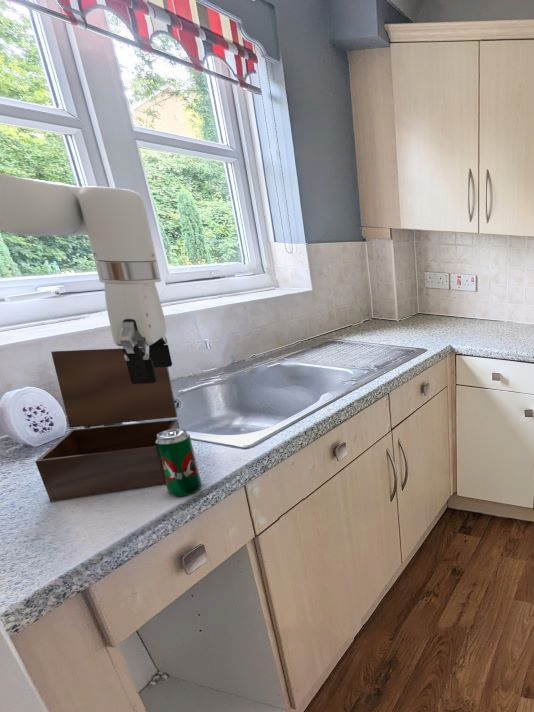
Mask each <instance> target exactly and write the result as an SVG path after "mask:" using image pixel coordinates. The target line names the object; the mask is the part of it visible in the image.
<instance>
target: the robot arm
mask: <svg viewBox="0 0 534 712" xmlns="http://www.w3.org/2000/svg"><path fill="white" fill-rule="evenodd" d="M0 231H1V232H5V233H9V234H12V235H13V234H14V235H18V236H25V237H50V236H51V237H52V236H53V237H54V236H55V237H73V236H87V238H88V242H89V246H90V249H91V253H92V258H93V260H94V261H93V262H94V265H95V269H96V272H97V276H98V280H99V283H101V284H103V285H104V299H105V304H106V305H105V306H106V310H107V316H108V317H107V318H108V322H109V326H110V331H111V337H112V340H113V343H114V345H116V346H117V347H121V348H122V349H123V350H122V351H123V352H124V357H125V360H126V363H127V367H128V371H129V375H130V379H131V382H132V384H147V383H155V382H156V381H157V378H156V374H155V369H154V368H157V367H168V368H171V367H172V366H173V362H172V361H173V360H172V356H171V352H170V348H169V344H168V339H167V337H166V334H167V325H166V319H165V315H164V312H163V311H164V310H163V306H162V302H161V299H160V296H159V295H160V294H159V292H158V288H157V285H156V283H160V282H162V279H161V274H160V269H159V265H158V261H157V255H156V250H155V246H154V240H153V237H152V231H151V227H150V223H149V218H148V214H147V208H146V205H145V201H144V199H143V197H142V195H141V194H140V193H138V192H137V191H135V190H132V189H127V188H122V187H121V188H119V187H112V186H111V187H110V186H97V185H95V186H94V185H87V186H77V185H72V184H68V183H62V182H54V181H48V180H43V179H42V180H41V179H34V178H25V177H19V176H18V177H17V176H14V175H9V174H6V173H2V172H0ZM139 347H142V351H141V350H140V348H139Z"/></svg>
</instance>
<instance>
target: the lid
mask: <svg viewBox="0 0 534 712" xmlns="http://www.w3.org/2000/svg"><path fill="white" fill-rule="evenodd" d="M122 348H123V347H116V348H115V347H114V348H93V349H90V348H89V349H73V350H53V351H50V353H51V357H52V361H53V366H54V369H55V370H54V371H55V374H56V377H57V382H58V385H59V390H60V395H61V398H62V402H63V406H64V410H65V411H64V412H65V414H66V418H67V423H68V427H69V429H74V428H84V426H94V425H104V424H114V423H122V424H123V423H124V424H125V423H132V422H134V423H135V422H143V421H144V422H145V421H153V420H154V421H155V420H165V419H172V418H173V419H175V418H177V417H178V412H177V406H176V402H175V396H174V391H173V385H172V381H171V380H172V379H171V375H170V370H169V367H157V368H154V369H155V374H156V378H157V381H156V382H155V383H147V384H132V382H131V379H130V375H129V371H128V367H127V363H126V360H125V357H124V352H123V351H122V350H123V349H122ZM139 348H140V350H141V351H142V347H139Z"/></svg>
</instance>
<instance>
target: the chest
mask: <svg viewBox="0 0 534 712" xmlns="http://www.w3.org/2000/svg"><path fill="white" fill-rule="evenodd" d="M170 429H181V428H180V423H179V419H178V418H173V419H172V418H171V419H161V420H154V421H153V420H151V421H144V422H143V421H141V422H134V423H132V422H131V423H124V424H123V423H122V425H112V426H102V427H93V428H84V427H82V428H75V429H74V428H72V429H70V430H69V431H68V432H66V434H65V435H63V436H62V437H61V438H60V439H59V440H58V441H56V442H55V443H54V444H53V445H52V446H51V447H50V448H49V449H48V450H46V451H45V452H44V453H43V454H42V455H41V456H40V457H38V458H37V459H36V460H35V461H34V462H35V465H36V467H37V470H38V472H39V476H40V479H41V481H42V484H43V486H44V489H45V492H46V494H47V497H48V499H49V502H57V501H64V500H71V499H77V498H84V497H85V498H86V497H90V496H91V497H92V496H99V495H104V494H110V493H112V494H113V493H117V492H125V491H131V490H138V489H145V488H152V487H157V486H165V485H166V482H165V478H164V474H163V471H162V467H161V463H160V459H159V456H158V452H157V448H156V444H155V441H156V439H157V437H156V435H157V434H158V433H160V432H163V431H166V430H170ZM166 486H167V485H166Z"/></svg>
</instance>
